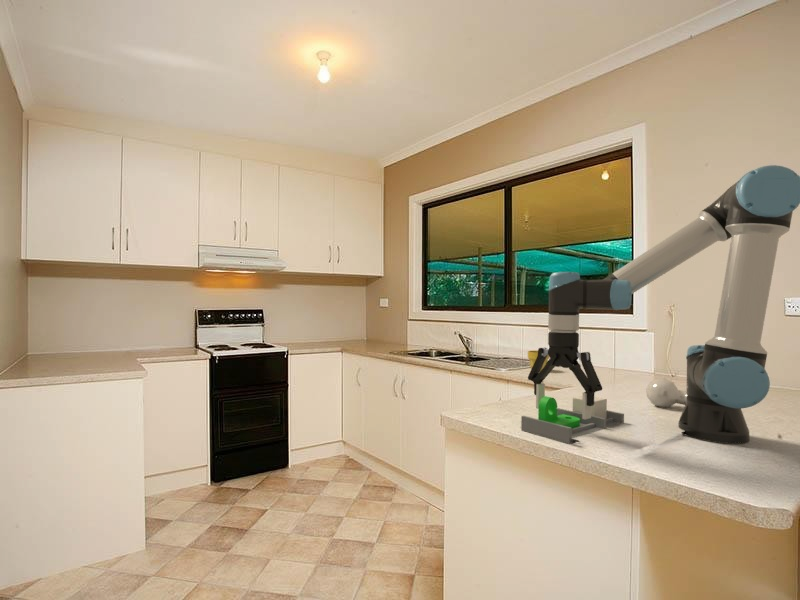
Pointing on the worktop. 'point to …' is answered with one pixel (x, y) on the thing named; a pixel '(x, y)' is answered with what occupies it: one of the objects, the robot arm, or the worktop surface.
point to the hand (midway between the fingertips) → (562, 413)
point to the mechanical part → (555, 413)
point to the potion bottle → (665, 393)
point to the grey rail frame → (568, 433)
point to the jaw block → (596, 410)
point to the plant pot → (532, 357)
